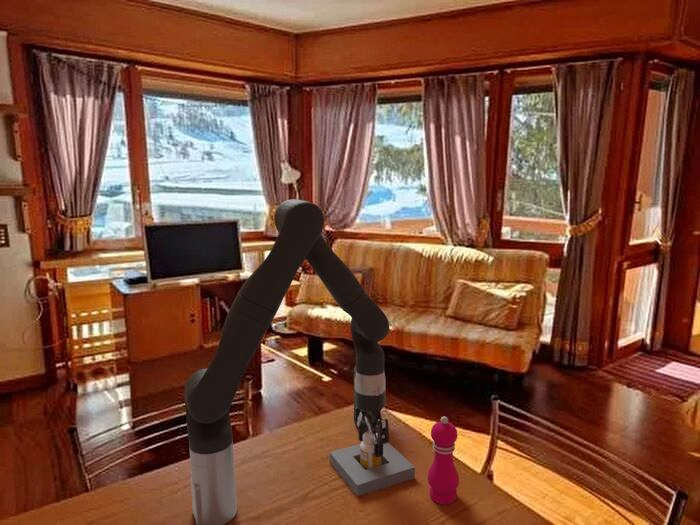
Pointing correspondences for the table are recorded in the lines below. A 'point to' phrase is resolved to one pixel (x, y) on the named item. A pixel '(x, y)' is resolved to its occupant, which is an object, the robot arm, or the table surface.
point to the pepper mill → (443, 463)
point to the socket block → (375, 478)
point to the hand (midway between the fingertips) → (370, 447)
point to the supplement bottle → (368, 452)
